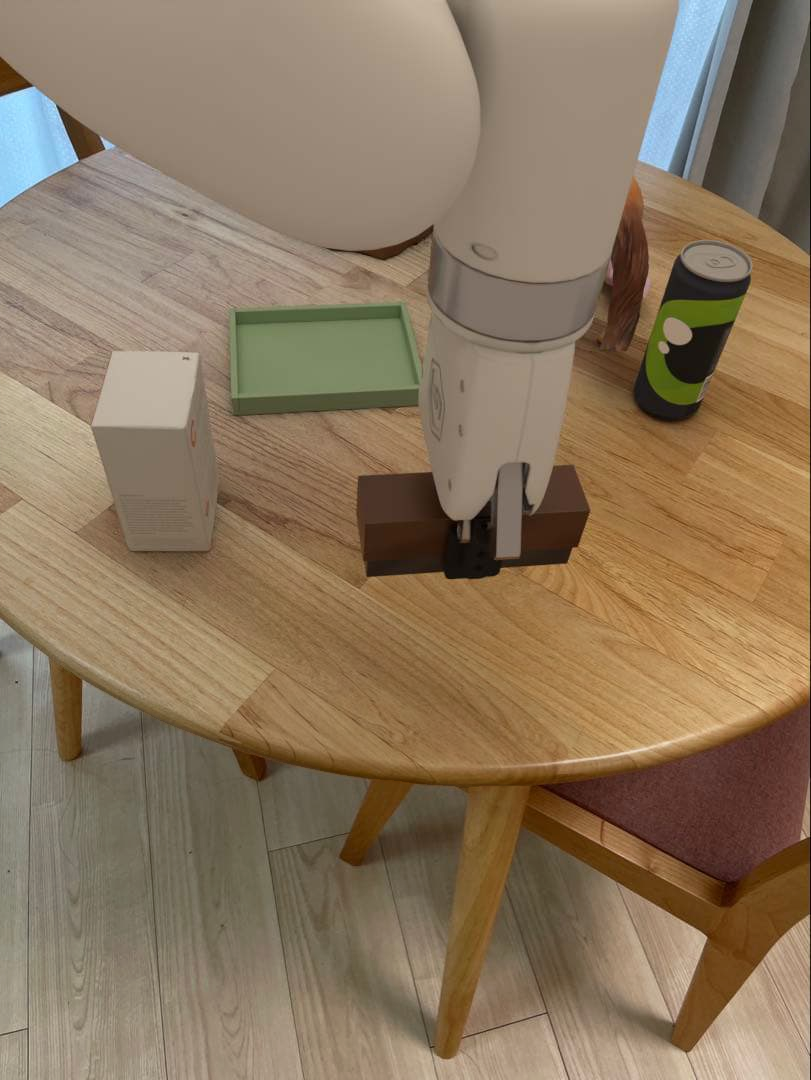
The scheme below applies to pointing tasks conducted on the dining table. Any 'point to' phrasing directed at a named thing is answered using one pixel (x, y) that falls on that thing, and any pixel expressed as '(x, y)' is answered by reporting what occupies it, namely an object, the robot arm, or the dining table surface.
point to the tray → (322, 358)
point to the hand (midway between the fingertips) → (464, 543)
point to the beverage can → (692, 328)
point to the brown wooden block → (423, 527)
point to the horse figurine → (627, 274)
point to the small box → (158, 449)
